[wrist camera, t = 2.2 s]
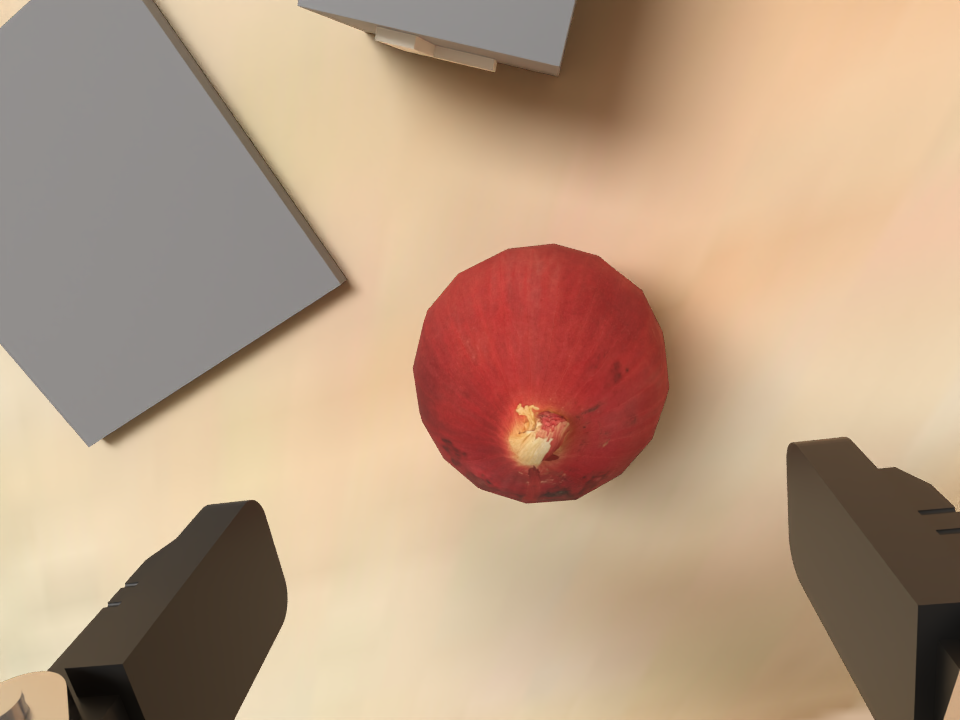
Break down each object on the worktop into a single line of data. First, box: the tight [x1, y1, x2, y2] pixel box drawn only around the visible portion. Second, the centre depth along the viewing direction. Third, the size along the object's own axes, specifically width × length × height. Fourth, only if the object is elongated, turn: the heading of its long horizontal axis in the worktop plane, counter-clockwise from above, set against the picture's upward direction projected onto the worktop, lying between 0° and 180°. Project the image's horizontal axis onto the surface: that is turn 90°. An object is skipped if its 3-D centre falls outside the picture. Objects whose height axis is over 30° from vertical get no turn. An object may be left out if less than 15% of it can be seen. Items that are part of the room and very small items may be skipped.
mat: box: [0, 0, 347, 447], centre depth 20 cm, size 10×10×1 cm
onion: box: [413, 244, 669, 503], centre depth 16 cm, size 6×6×8 cm
